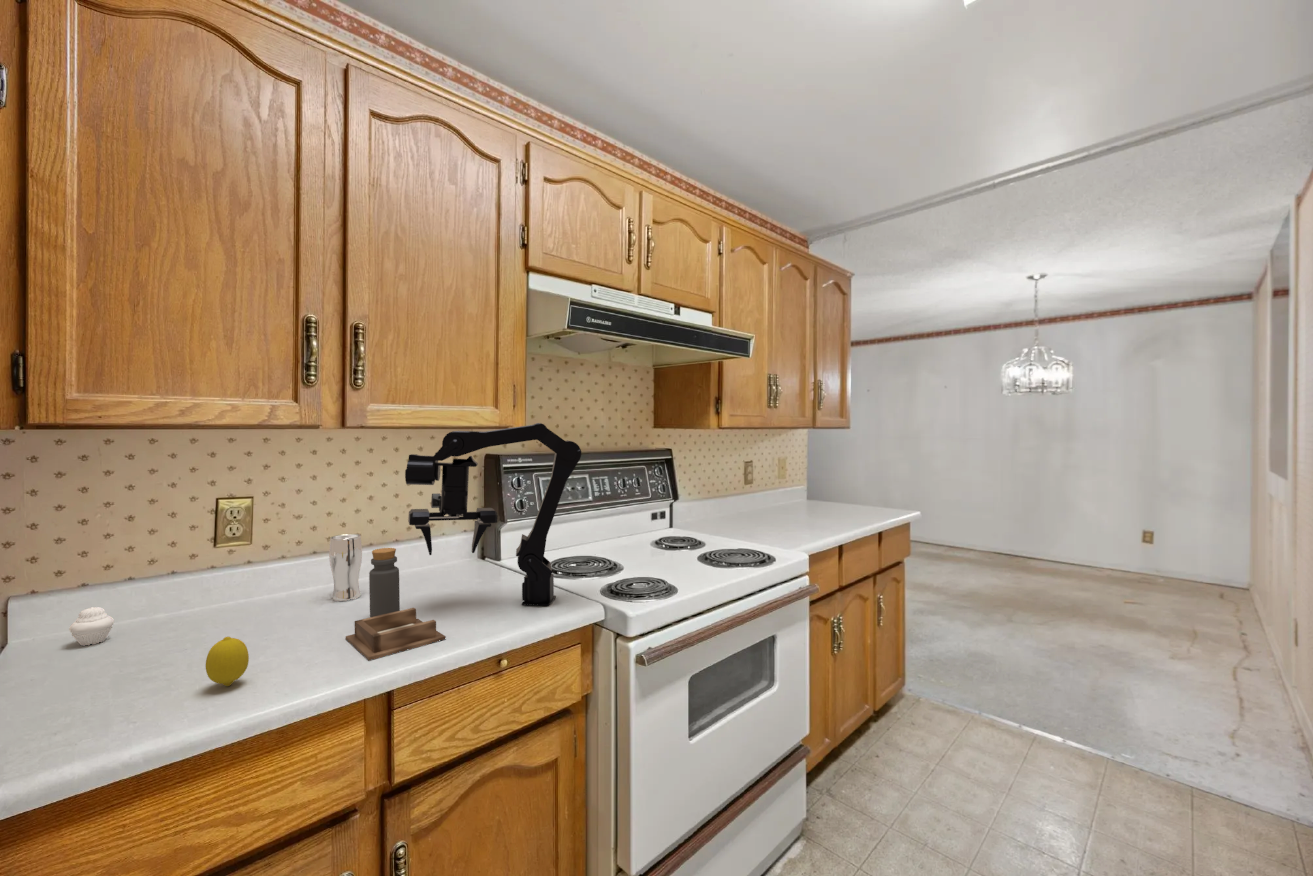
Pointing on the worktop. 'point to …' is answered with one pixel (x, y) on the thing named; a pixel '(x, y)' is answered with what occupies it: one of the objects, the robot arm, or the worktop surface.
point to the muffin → (91, 626)
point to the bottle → (384, 582)
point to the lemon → (227, 661)
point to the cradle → (392, 633)
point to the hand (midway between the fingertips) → (451, 553)
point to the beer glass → (345, 565)
